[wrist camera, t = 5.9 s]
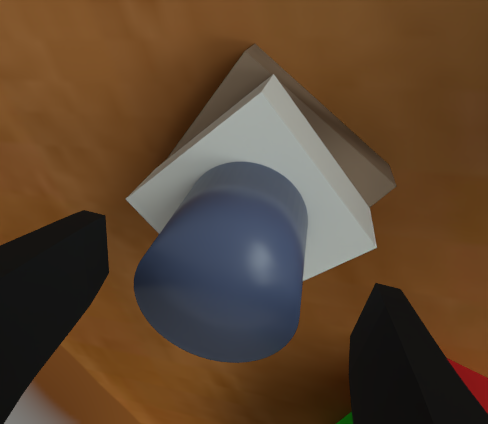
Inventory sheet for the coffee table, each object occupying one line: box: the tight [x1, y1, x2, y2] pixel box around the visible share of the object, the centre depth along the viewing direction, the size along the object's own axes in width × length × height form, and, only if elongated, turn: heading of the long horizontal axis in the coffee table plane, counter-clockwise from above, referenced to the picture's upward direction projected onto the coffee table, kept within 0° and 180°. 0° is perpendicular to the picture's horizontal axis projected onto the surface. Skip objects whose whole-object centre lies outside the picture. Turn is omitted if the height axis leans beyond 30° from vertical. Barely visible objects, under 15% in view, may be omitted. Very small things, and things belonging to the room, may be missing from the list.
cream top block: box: [126, 74, 377, 281], centre depth 13 cm, size 6×6×2 cm
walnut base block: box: [166, 44, 396, 208], centre depth 15 cm, size 7×7×2 cm
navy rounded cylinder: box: [134, 162, 308, 363], centre depth 10 cm, size 4×4×4 cm
